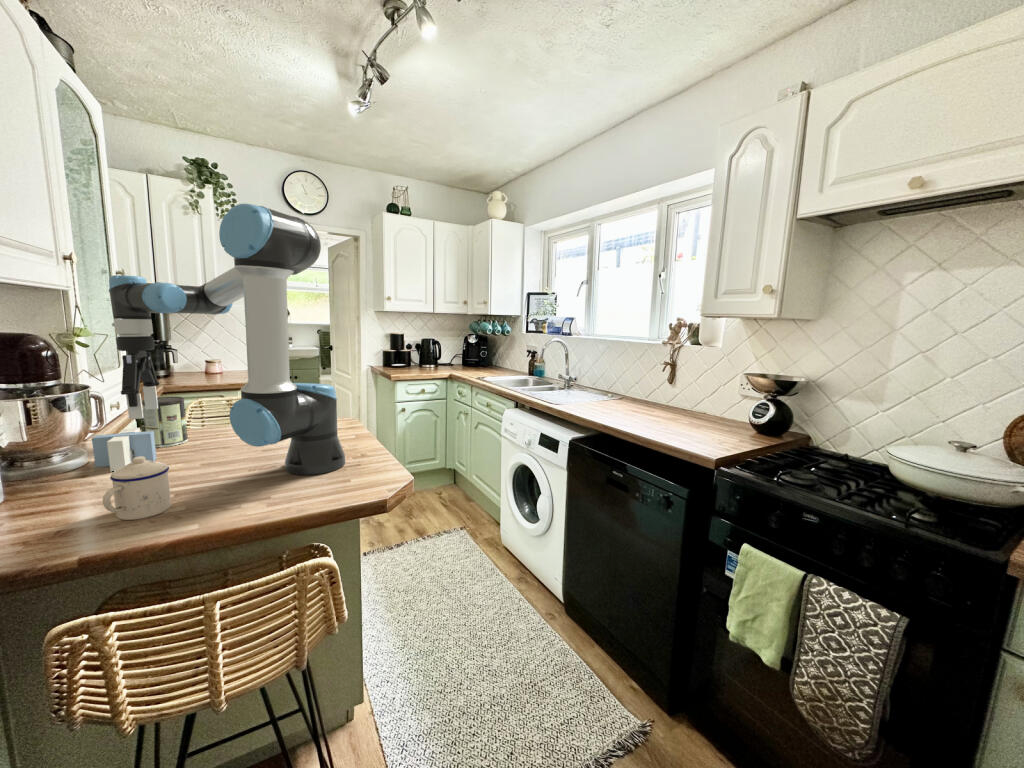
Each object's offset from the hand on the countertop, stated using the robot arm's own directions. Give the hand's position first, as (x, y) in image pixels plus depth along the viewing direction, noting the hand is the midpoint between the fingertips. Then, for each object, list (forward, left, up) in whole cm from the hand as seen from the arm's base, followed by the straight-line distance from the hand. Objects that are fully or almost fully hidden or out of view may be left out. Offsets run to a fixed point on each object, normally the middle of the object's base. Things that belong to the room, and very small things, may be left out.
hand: (144, 413), depth 115 cm
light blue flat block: (0, +5, -13) cm, 14 cm away
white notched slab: (0, +5, -13) cm, 14 cm away
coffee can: (+18, 0, -14) cm, 23 cm away
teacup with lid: (-39, -7, -14) cm, 42 cm away
